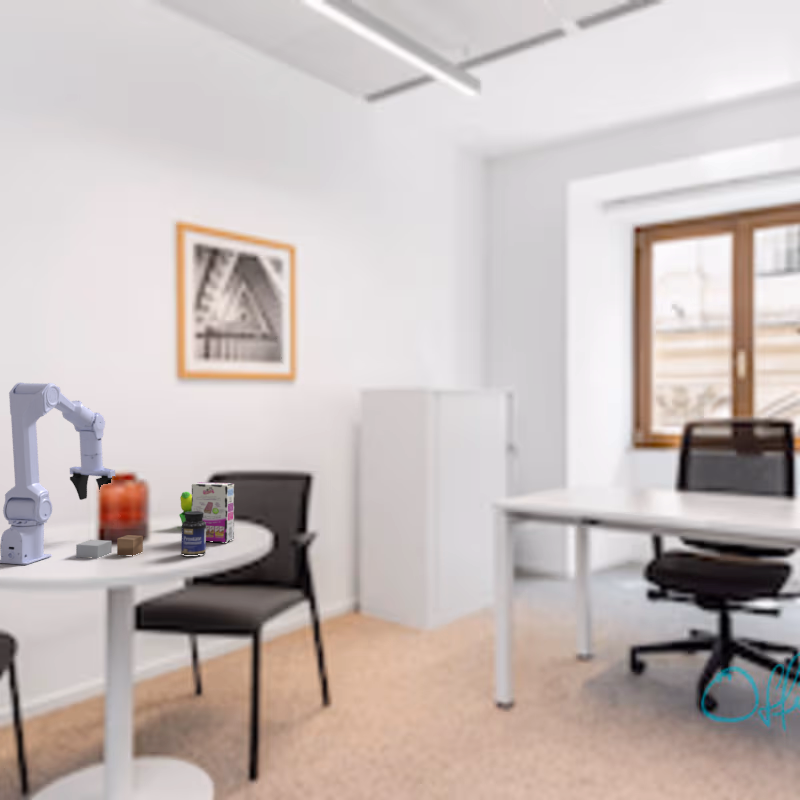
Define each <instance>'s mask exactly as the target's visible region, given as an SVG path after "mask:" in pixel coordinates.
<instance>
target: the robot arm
mask: <svg viewBox="0 0 800 800" xmlns="http://www.w3.org/2000/svg"><path fill="white" fill-rule="evenodd" d="M8 396H9V413H10V417H11V418H10V420H11V421H10V422H11V437H12V439H11V440H12V451H13V452H12V453H13V468H14V471H13V472H14V486H13V487H11V488H10V489H9V490H8V491H7V492H5V494H4V496H5V497H4V504H3V506H2V507H3V509H2V511H3V512H2V513H3V517H4V518H5V520H7V521H8V525H10V526H9V528H7V529H6V530H4V531H3V533H2V534H1V537H0V564H11V565H24V566H25V565H29V564H32V563H35V562H38V561H42V560H44V559H47V558H50V557H52V555H53V554H51V553H45V552H44V551H45V544H44V543H45V542H44V541H45V539H44V538H45V523H48V520H49V519H50V518H51V515H52V513H53V504H52V501H51V499H50V492H49V490H48V489H47V488H45V487H44V486H43V485H42V484H41V483H40V471H39V454H38V452H39V450H38V436H37V435H38V433H37V422H38V420H39V419H40V418H42V417H44V416H45V415H47V414H48V413H49V412H50V411H52V410H53V409H56V410H57V411H59V412H60V413H61V415H62V417H63V418H64V419H65V420H66V421H68V422H70V423H71V424H72V425H73V427H74V429H75V432H78V434H79V449H80V450H79V451H80V466H71V467H69V475H72V476H69V480H70V481H71V483H72V484H73V486H74V488H75V491H76V493H77V495H78V498H79V500H81V501H83V500H86V499H87V498H88V481H89V476H91V477H95V476H96V477H97V478H95V481H96V484H97V487H98V490H100V487H101V485H103V484H108V483H111V479H112V476H115V477H116V469H110V468H106V467H105V466H104V463H103V461H104V460H103V443H102V441H103V440H102V439H103V436H104V430H105V428H106V427H105V426H106V420H105V417H104V415H102V414H101V413H100V412H94V411H92V410H91V408H90V407H86V406H85V405H83V402H82V401H81V400H70V399H69V398H68V397H66V395H65V394H63V393H62V392H61V388H60V386H57V385H56V384H55V383H53V382H47V383H43V382H42V383H34V382H33V383H30V382H28V383H27V382H26V383H25V382H17V383H15V384H14V385H13V387H12V388H11V390H10V391H9V393H8ZM98 477H99V478H98Z"/></svg>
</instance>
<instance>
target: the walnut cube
mask: <svg viewBox="0 0 800 800" xmlns="http://www.w3.org/2000/svg"><path fill="white" fill-rule="evenodd" d="M116 540H117V541H116V542H117V543H116V544H117V547H116V551H117V553H116V555H132V556H133V555H136V554H138V553H141V552H143V550H144V536H143V535H135V534H134V535H129V534H127V535H124V536H121V537H118V538H116ZM143 553H144V552H143ZM141 554H142V553H141ZM136 556H137V555H136Z"/></svg>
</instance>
